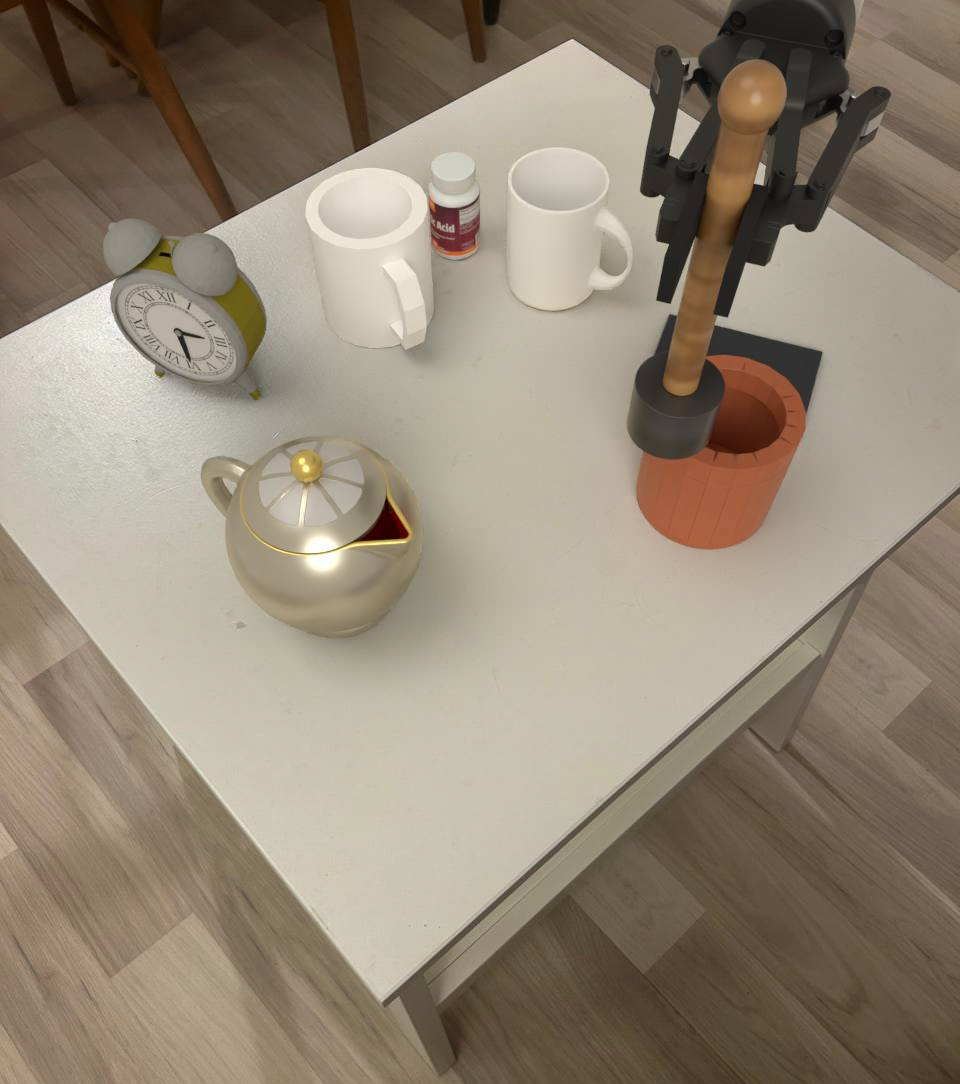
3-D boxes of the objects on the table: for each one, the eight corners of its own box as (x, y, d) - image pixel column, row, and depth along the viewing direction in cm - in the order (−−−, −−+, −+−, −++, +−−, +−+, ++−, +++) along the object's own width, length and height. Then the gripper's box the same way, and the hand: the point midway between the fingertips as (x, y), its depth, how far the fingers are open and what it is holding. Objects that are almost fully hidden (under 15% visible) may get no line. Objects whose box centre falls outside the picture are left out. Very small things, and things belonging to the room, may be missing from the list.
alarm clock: (141, 385, 82) (73, 241, 69) (175, 331, 85) (116, 183, 72) (262, 414, 80) (216, 272, 67) (292, 358, 83) (254, 212, 70)
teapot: (468, 565, 73) (462, 424, 58) (377, 705, 67) (346, 587, 53) (279, 478, 77) (230, 327, 63) (178, 603, 72) (99, 468, 57)
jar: (795, 520, 75) (836, 437, 66) (678, 568, 73) (704, 490, 64) (723, 426, 79) (752, 337, 70) (612, 469, 77) (628, 383, 68)
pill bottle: (421, 244, 90) (415, 165, 83) (456, 221, 92) (453, 141, 84) (455, 268, 89) (451, 189, 81) (490, 244, 90) (490, 165, 83)
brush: (728, 441, 61) (851, 81, 40) (654, 471, 60) (740, 117, 39) (683, 383, 63) (778, 16, 42) (611, 411, 62) (671, 47, 41)
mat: (821, 356, 83) (823, 351, 82) (799, 438, 79) (801, 433, 78) (668, 318, 85) (669, 313, 85) (639, 396, 81) (640, 391, 80)
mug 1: (473, 343, 84) (471, 243, 75) (374, 388, 82) (359, 291, 72) (401, 256, 90) (391, 153, 80) (306, 295, 87) (284, 194, 78)
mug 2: (602, 340, 84) (616, 240, 75) (488, 292, 87) (488, 190, 78) (645, 283, 87) (663, 180, 78) (534, 239, 91) (540, 134, 81)
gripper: (896, 110, 57) (830, 382, 47) (655, 63, 60) (542, 311, 49) (949, -24, 51) (886, 257, 40) (675, -71, 53) (550, 183, 43)
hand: (697, 286), depth 45 cm, fingers closed on brush, 2 cm apart
